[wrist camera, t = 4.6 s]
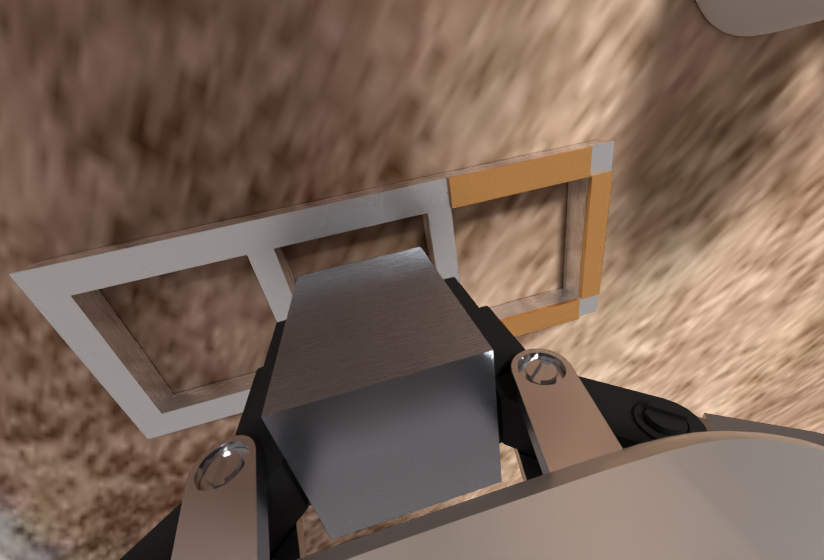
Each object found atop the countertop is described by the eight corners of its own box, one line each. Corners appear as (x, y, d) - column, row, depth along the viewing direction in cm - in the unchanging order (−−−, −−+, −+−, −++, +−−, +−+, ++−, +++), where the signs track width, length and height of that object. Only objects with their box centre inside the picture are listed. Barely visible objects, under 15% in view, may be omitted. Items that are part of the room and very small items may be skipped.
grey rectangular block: (297, 276, 11) (261, 417, 6) (420, 246, 11) (493, 350, 6) (333, 370, 13) (331, 539, 8) (436, 342, 13) (501, 481, 8)
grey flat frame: (38, 261, 12) (2, 276, 10) (594, 140, 14) (618, 140, 13) (160, 418, 16) (145, 443, 14) (580, 300, 18) (598, 312, 17)
